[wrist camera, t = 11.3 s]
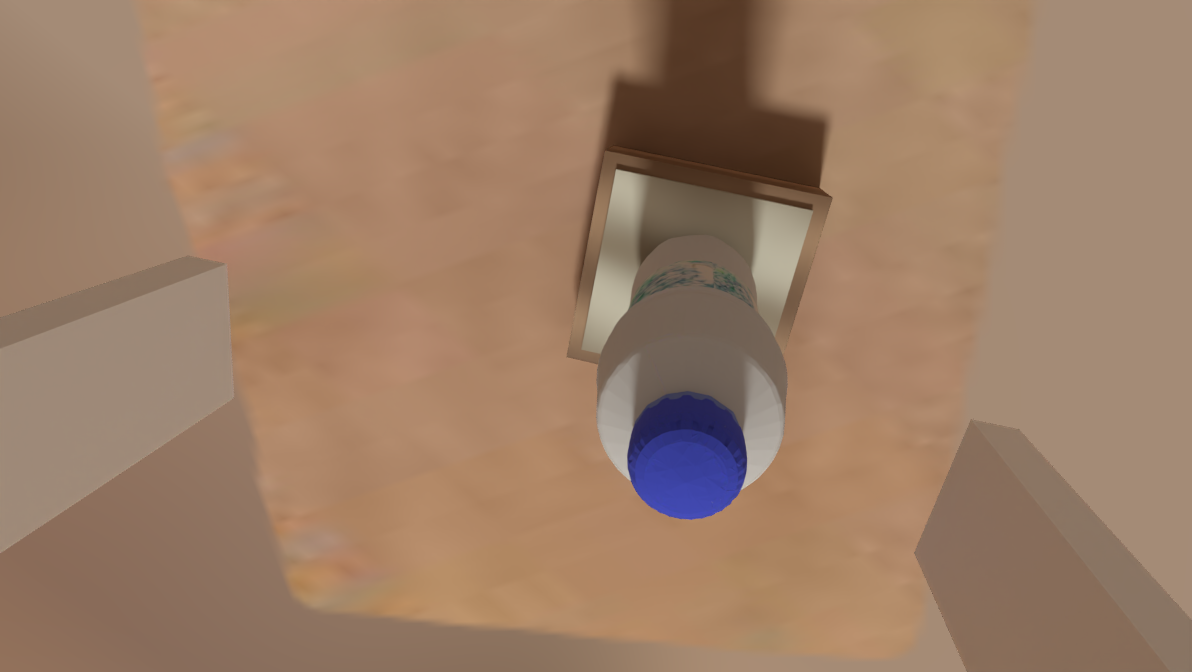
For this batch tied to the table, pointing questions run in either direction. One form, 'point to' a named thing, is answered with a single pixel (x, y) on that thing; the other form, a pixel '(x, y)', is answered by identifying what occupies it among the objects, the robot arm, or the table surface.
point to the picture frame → (693, 207)
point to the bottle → (691, 381)
